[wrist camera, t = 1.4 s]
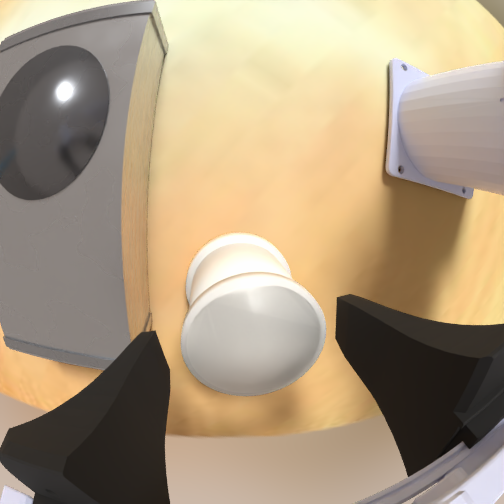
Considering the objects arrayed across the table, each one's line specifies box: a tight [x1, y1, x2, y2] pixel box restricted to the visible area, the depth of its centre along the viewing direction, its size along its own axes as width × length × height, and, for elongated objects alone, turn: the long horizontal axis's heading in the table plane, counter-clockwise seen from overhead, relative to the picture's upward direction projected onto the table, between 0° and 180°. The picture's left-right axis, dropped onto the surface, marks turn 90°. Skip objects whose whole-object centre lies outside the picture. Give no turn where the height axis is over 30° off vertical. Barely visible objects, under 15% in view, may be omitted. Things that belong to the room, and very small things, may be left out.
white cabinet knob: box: [181, 232, 326, 396], centre depth 12 cm, size 6×6×6 cm
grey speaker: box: [0, 0, 168, 370], centre depth 10 cm, size 8×16×5 cm, turn 175°
